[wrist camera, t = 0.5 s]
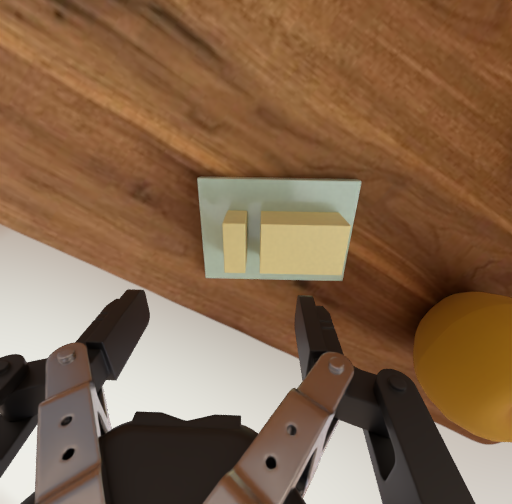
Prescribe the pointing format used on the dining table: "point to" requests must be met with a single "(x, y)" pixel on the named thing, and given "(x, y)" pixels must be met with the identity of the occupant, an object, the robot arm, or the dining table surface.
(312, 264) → the butter block
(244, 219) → the butter slice
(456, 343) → the apple
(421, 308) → the dining table surface
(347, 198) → the butter board
